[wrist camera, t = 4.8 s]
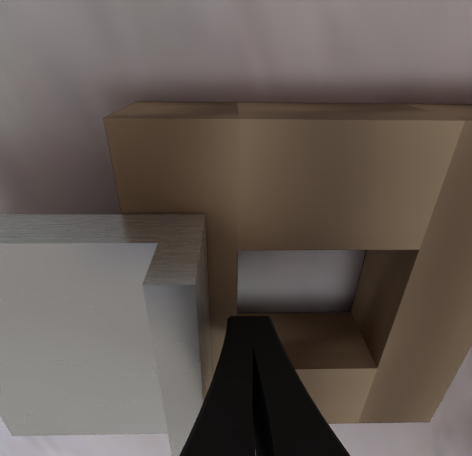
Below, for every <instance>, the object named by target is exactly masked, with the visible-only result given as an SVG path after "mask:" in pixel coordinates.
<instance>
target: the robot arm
mask: <svg viewBox="0 0 472 456" xmlns="http://www.w3.org/2000/svg"><path fill="white" fill-rule="evenodd" d="M255 451H256V455H255ZM179 456H350V455H349V453H348V452H347V450H346V449H345V448H344V446H343V445H342V443H341V442H340V441H339V439H338V438H337V436H336V435H335V434H334V432H333V431H332V429H331V428H330V426H329V425H328V423H327V422H326V420H325V419H324V417H323V416H322V414H321V412H320V411H319V409H318V408H317V406H316V405H315V403H314V401H313V400H312V398H311V397H310V395H309V393H308V392H307V390H306V388H305V386H304V385H303V383H302V381H301V379H300V378H299V376H298V374H297V372H296V370H295V369H294V367H293V365H292V363H291V361H290V359H289V357H288V356H287V354H286V352H285V349H284V347H283V345H282V343H281V341H280V339H279V337H278V334H277V332H276V330H275V327H274V325H273V322H272V319H271V318H270V317H269V316H230V317H229V318H228V319H227V328H226V334H225V339H224V343H223V347H222V350H221V354H220V357H219V360H218V363H217V366H216V370H215V373H214V376H213V379H212V381H211V384H210V387H209V389H208V392H207V394H206V397H205V399H204V402H203V404H202V407H201V409H200V412H199V414H198V416H197V419H196V421H195V423H194V425H193V428H192V430H191V432H190V434H189V436H188V439H187V441H186V443H185V445H184V447H183V449H182V451H181V453H180V455H179Z"/></svg>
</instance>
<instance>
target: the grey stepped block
mask: <svg viewBox="0 0 472 456" xmlns="http://www.w3.org/2000/svg"><path fill="white" fill-rule="evenodd" d="M211 381H212V363H211V340H210V317H209V293H208V270H207V246H206V223H205V214H0V417H1V418H2V420H3V422H4V423H5V425H6V426H7V428H8V430H9V431H10V433H11V434H12V436H45V435H103V434H162V433H168V436H169V441H170V447H171V453H172V456H179V455H180V453H181V451H182V449H183V447H184V445H185V443H186V441H187V439H188V436H189V434H190V432H191V430H192V428H193V425H194V423H195V421H196V419H197V416H198V414H199V412H200V409H201V407H202V404H203V402H204V399H205V397H206V394H207V392H208V389H209V387H210V384H211Z"/></svg>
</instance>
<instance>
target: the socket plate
mask: <svg viewBox="0 0 472 456" xmlns="http://www.w3.org/2000/svg"><path fill="white" fill-rule="evenodd" d="M103 119H104V124H105V130H106V135H107V140H108V146H109V151H110V156H111V161H112V167H113V172H114V177H115V183H116V188H117V193H118V198H119V204H120V209H121V214H205V223H206V246H207V270H208V293H209V317H210V340H211V363H212V379H213V376H214V373H215V370H216V366H217V363H218V360H219V357H220V354H221V350H222V347H223V343H224V339H225V334H226V328H227V319H228V318H229V317H230V316H269V317H270V318H271V319H272V322H273V325H274V327H275V330H276V332H277V334H278V337H279V339H280V341H281V343H282V345H283V347H284V349H285V352H286V354H287V356H288V357H289V359H290V361H291V363H292V365H293V367H294V369H295V370H296V372H297V374H298V376H299V378H300V379H301V381H302V383H303V385H304V386H305V388H306V390H307V392H308V393H309V395H310V397H311V398H312V400H313V401H314V403H315V405H316V406H317V408H318V409H319V411H320V412H321V414H322V416H323V417H324V419H325V420H326V422H327V423H328V424H339V423H400V422H430V420H431V418H432V417H433V415H434V413H435V411H436V409H437V408H438V406H439V404H440V402H441V400H442V398H443V397H444V395H445V393H446V391H447V389H448V388H449V386H450V384H451V382H452V380H453V378H454V377H455V375H456V373H457V371H458V369H459V367H460V366H461V364H462V362H463V360H464V358H465V357H466V355H467V353H468V351H469V349H470V347H471V346H472V104H363V103H238V102H134V103H133V104H131V105H129V106H127V107H125V108H123V109H121V110H119V111H117V112H115V113H113V114H111V115H109V116H107V117H105V118H103ZM238 250H367V252H366V256H365V259H364V263H363V267H362V271H361V275H360V279H359V283H358V287H357V291H356V295H355V298H354V302H353V306H352V310H351V313H237V281H238Z"/></svg>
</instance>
